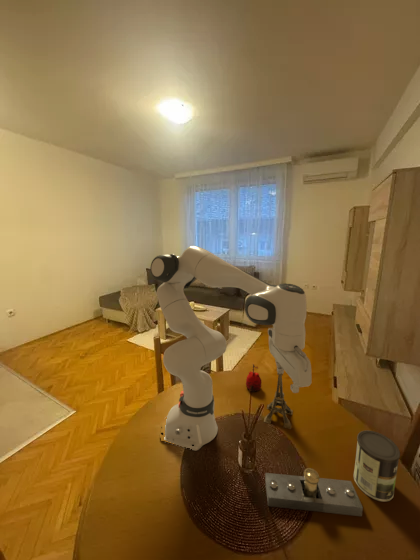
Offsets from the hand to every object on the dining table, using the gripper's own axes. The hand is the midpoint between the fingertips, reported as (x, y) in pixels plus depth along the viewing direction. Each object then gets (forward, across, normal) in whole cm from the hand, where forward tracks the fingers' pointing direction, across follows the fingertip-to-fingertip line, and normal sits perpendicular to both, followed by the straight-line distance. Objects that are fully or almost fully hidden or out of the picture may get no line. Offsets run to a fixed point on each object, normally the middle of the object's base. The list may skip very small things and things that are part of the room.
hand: (286, 381), depth 72 cm
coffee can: (+31, -10, -24) cm, 41 cm away
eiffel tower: (+31, +21, -8) cm, 38 cm away
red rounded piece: (+31, +40, -3) cm, 51 cm away
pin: (+31, -10, -3) cm, 33 cm away
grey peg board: (+31, -10, -3) cm, 33 cm away
